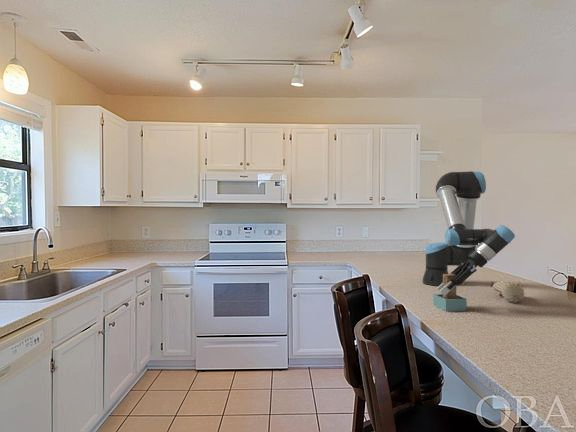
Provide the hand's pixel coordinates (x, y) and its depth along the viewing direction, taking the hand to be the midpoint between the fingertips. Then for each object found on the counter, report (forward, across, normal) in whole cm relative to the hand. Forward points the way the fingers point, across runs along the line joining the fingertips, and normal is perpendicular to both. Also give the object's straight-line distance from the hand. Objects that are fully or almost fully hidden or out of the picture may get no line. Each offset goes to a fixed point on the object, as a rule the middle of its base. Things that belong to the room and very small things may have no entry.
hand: (440, 291), depth 156 cm
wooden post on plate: (0, 0, +5) cm, 5 cm away
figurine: (-20, -24, +30) cm, 43 cm away
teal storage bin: (+2, 0, +8) cm, 8 cm away
